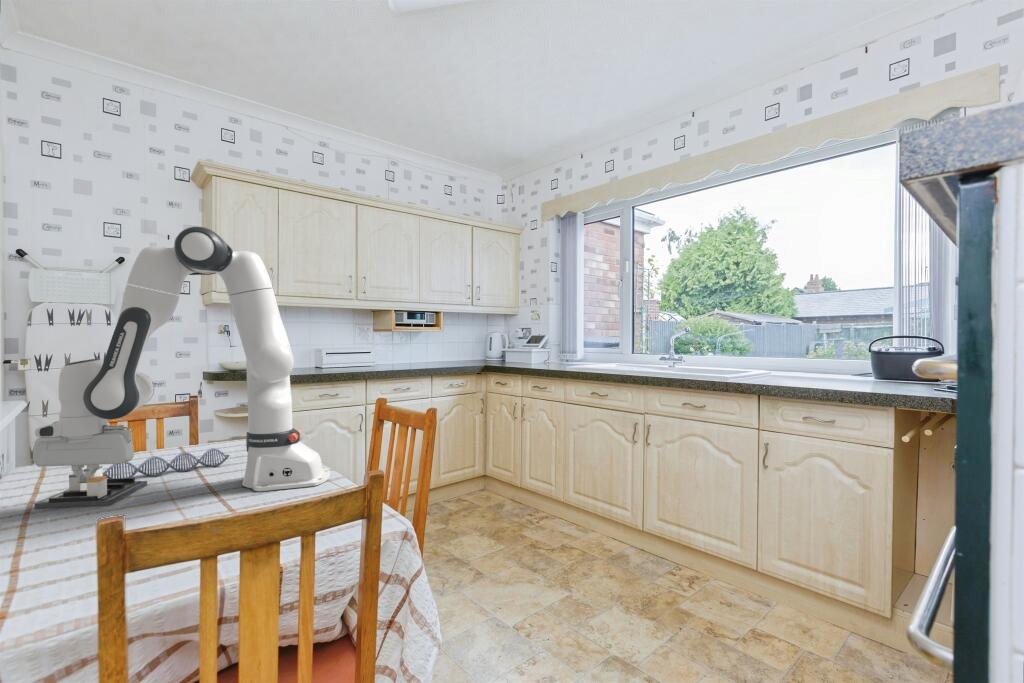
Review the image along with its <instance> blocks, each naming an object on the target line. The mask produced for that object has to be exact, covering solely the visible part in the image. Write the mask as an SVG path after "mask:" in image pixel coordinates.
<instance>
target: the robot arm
mask: <svg viewBox="0 0 1024 683" xmlns="http://www.w3.org/2000/svg"><path fill="white" fill-rule="evenodd" d="M215 274H217V275H219V276H220V277H221V278H222V281H223V283H224V286H225V289H226V292H227V297H228V300H229V303H230V307H231V311H232V314H233V317H234V318H233V319H234V323H235V325H236V329H237V331H238V334H239V338H240V341H241V345H242V348H243V352H244V356H245V358H246V360H245V363H246V367H245V368H246V389H247V390H246V392H247V425H248V426H247V432H246V439H245V447H246V453H247V459H246V466H245V471H244V477H243V480H242V486H243V487H245V488H248V489H252V490H253V491H255V492H264V491H265V492H266V491H267V492H268V491H275V490H277V491H278V490H285V489H287V490H288V489H296V488H307V487H316V486H318V485H319V486H320V485H321V484H323V483H325V482H327V481H328V479H329V478H330V477H331V470H330V469H329V468H325V467H323V462H322V459H321V456H320V454H319V453H318V452H317V451H315V450H314V449H312V448H311V447H310V446H308V445H306V444H304V443H303V442H302V441H301V434H302V433H301V432H302V430H301V429H299V430H296V428H294V427H293V397H292V390H291V389H292V387H291V377H290V376H291V375H290V374H291V373H292V371H293V370H294V367H295V357H294V354H293V350H292V347H291V344H290V341H289V337H288V335H287V331H286V329H285V326H284V322H283V320H282V316H281V314H280V310H279V305H278V303H277V302H278V301H277V298H276V295H275V292H274V288H273V283H272V280H271V278H270V275H269V273H268V270H267V267H266V265H265V263H264V261H263V259H262V258H261V256H260V255H258V253H256V252H253V251H251V250H250V251H249V250H237V251H236V250H233V248H232V247H231V246H230V245H229V244H228V243H227V242H226V241H225V240H224V239H223V238H222V237H221V236H220V235H219V234H217V232H215V231H214V230H212V229H210V228H208V227H203V226H190V227H187V228H185V229H183V230H181V231H180V232H179V233H178V234H177V236H176V237H175V241H174V244H173V247H165V246H159V245H153V246H147V247H144V248H142V250H140V252H138V255H137V257H136V259H135V261H134V263H133V264H132V267H131V269H130V271H129V275H128V278H127V281H126V285H125V289H124V292H123V297H122V302H121V306H120V309H119V310H120V312H119V315H118V318H117V321H116V322H117V323H116V326H115V329H114V330H113V332H112V333H113V334H112V336H111V339H110V342H109V345H108V348H107V350H106V354H105V357H104V360H103V359H100V358H99V359H98V358H91V359H85V360H84V359H83V360H79V361H73V362H68V363H67V364H65V365H64V366H62V368H61V369H60V373H59V379H58V400H59V402H60V412H59V414H58V418H59V420H57V421H55V422H52V423H50V424H47V425H44V426H39V427H37V428H35V430H34V435H35V437H36V439H35V440H34V443H33V449H32V451H33V452H32V453H33V455H32V457H33V458H32V460H33V464H35V465H36V466H37V467H38V468H40V467H43V468H44V467H68V466H69V467H70V468H71V471H72V472H73V473H74V474H75V475H76V476H77V482H78V483H87V480H88V479H91V478H93V477H94V474H95V473H96V471H97V469H98V468H99V466H101V465H113V464H118V465H119V464H121V465H122V464H123V463H124V464H125V463H126V462H130V461H132V460H133V459H134V457H135V450H134V449H135V448H134V443H133V439H132V438H133V434H132V432H133V431H132V429H130V428H129V427H127V426H126V425H124V424H122V425H121V424H119V425H109V422H108V421H109V420H116V419H120V418H123V417H125V416H127V415H128V414H130V413H132V411H135V410H137V409H139V408H140V407H142V406H144V405H146V404H147V403H148V402H149V401H151V399H152V398H153V396H154V394H155V385H154V382H153V380H152V379H151V378H150V377H149V376H148V375H146V374H145V373H142V372H140V371H139V372H137V371H138V368H139V364H140V361H141V358H142V354H143V351H144V348H145V346H146V344H147V342H148V340H149V338H150V337H151V336H152V335H153V334H154V333H155V332H156V331H157V330H158V329H160V328H161V327H162V326H164V325H165V324H167V323H168V322H169V321H170V320H171V318H172V316H173V314H174V312H175V310H176V308H177V307H178V303H179V300H180V296H181V292H182V288H183V284H184V281H185V280H186V278H187V277H188V276H199V275H201V276H209V275H215ZM85 466H86V468H87V469H90V470H89V471H88V473H87V474H85V472H84V469H83V468H85ZM73 473H72V474H73Z"/></svg>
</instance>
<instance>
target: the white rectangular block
mask: <svg viewBox="0 0 1024 683" xmlns="http://www.w3.org/2000/svg"><path fill="white" fill-rule="evenodd" d="M83 471H84V470H83ZM84 472H85V474H87V473H88V471H84ZM68 489H69V491H78V490H87V483H78V482H77V476H76V475H75V474H74V473H71V474H69V475H68Z"/></svg>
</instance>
